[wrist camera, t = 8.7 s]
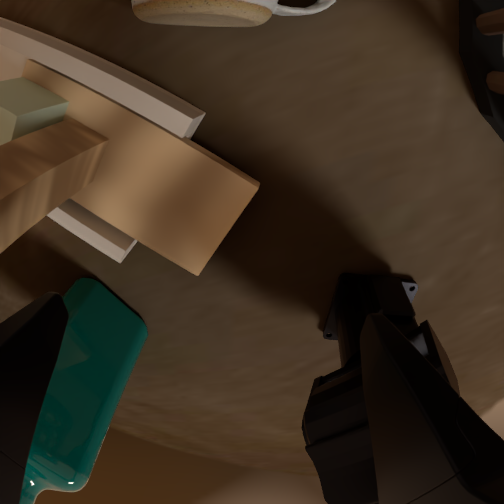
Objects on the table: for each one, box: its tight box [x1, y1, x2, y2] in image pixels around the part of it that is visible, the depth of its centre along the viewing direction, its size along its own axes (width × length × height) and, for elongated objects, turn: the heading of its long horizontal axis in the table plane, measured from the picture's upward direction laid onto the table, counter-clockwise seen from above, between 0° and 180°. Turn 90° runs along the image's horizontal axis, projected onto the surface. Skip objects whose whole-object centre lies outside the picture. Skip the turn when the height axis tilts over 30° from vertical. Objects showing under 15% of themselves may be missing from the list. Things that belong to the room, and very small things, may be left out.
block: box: [0, 77, 69, 145], centre depth 15 cm, size 5×5×5 cm
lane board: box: [0, 17, 206, 263], centre depth 17 cm, size 22×11×3 cm, turn 57°
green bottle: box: [19, 277, 148, 504], centre depth 19 cm, size 10×8×22 cm
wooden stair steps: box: [0, 59, 260, 276], centre depth 14 cm, size 18×8×13 cm, turn 57°
